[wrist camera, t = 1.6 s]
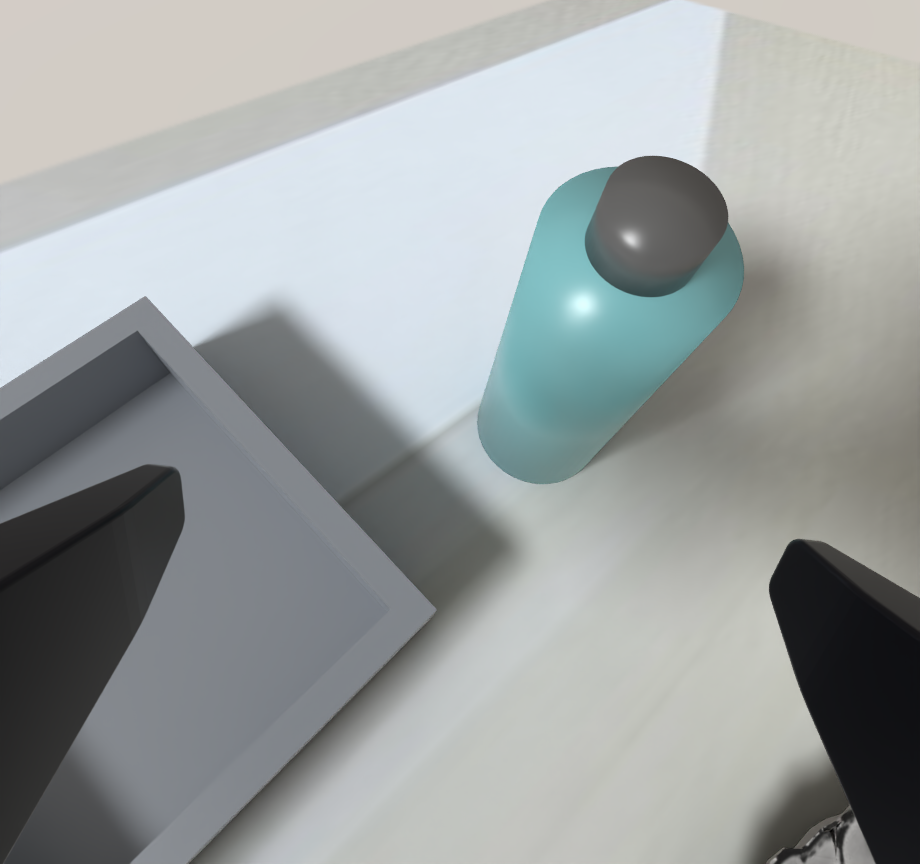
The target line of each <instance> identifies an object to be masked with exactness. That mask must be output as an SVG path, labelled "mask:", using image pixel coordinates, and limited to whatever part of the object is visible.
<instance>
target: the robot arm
mask: <svg viewBox="0 0 920 864" xmlns="http://www.w3.org/2000/svg"><path fill="white" fill-rule="evenodd" d="M184 521H185V510H184V500H183V491H182V482H181V475H180V473H179V470H178V469H176V468H175V467H173V466H165V465H157V464H145V465H142V466H139V467H137V468H135V469H132V470H130V471H127V472H125V473H122V474H120V475H117V476H115V477H113V478H110V479H108V480H105V481H103V482H100V483H98V484H95V485H93V486H91V487H88V488H86V489H83V490H81V491H78V492H76V493H73V494H71V495H68V496H66V497H64V498H61V499H59V500H56V501H54V502H51V503H49V504H46V505H44V506H42V507H39V508H37V509H34V510H32V511H29V512H27V513H24V514H22V515H20V516H17V517H15V518H12V519H10V520H7V521H5V522H2V523H0V864H4V862H5V860H6V858H7V857H8V855H9V853H10V851H11V850H12V848H13V846H14V845H15V843H16V841H17V839H18V838H19V836H20V834H21V832H22V831H23V829H24V827H25V825H26V824H27V822H28V820H29V819H30V817H31V815H32V813H33V812H34V810H35V808H36V806H37V805H38V803H39V801H40V799H41V798H42V796H43V794H44V793H45V791H46V789H47V787H48V786H49V784H50V782H51V780H52V779H53V777H54V775H55V774H56V772H57V770H58V768H59V767H60V765H61V763H62V761H63V760H64V758H65V756H66V754H67V753H68V751H69V749H70V748H71V746H72V744H73V742H74V741H75V739H76V737H77V735H78V734H79V732H80V730H81V728H82V727H83V725H84V723H85V722H86V720H87V718H88V716H89V715H90V713H91V711H92V709H93V708H94V706H95V704H96V702H97V701H98V699H99V697H100V696H101V694H102V692H103V690H104V689H105V687H106V685H107V683H108V682H109V680H110V678H111V676H112V675H113V673H114V671H115V670H116V668H117V666H118V664H119V663H120V661H121V659H122V657H123V656H124V654H125V652H126V650H127V649H128V647H129V645H130V644H131V642H132V640H133V638H134V636H135V635H136V633H137V631H138V629H139V627H140V625H141V624H142V622H143V619H144V617H145V615H146V613H147V611H148V609H149V606H150V604H151V602H152V600H153V597H154V595H155V593H156V590H157V588H158V586H159V583H160V581H161V579H162V576H163V574H164V572H165V569H166V567H167V565H168V563H169V560H170V558H171V556H172V553H173V551H174V549H175V546H176V544H177V542H178V539H179V537H180V535H181V532H182V530H183V526H184ZM769 594H770V599H771V602H772V605H773V608H774V611H775V614H776V617H777V620H778V624H779V627H780V630H781V633H782V636H783V639H784V642H785V645H786V649H787V652H788V655H789V658H790V661H791V664H792V667H793V670H794V674H795V676H796V679H797V682H798V685H799V688H800V691H801V693H802V696H803V698H804V700H805V703H806V705H807V708H808V710H809V712H810V715H811V717H812V719H813V722H814V724H815V726H816V729H817V731H818V733H819V735H820V738H821V740H822V742H823V745H824V747H825V749H826V752H827V754H828V756H829V759H830V761H831V763H832V765H833V768H834V770H835V772H836V775H837V777H838V779H839V782H840V784H841V786H842V788H843V791H844V793H845V795H846V798H847V800H848V802H849V805H850V807H851V809H852V812H853V814H854V816H855V818H856V821H857V823H858V825H859V828H860V830H861V832H862V835H863V837H864V839H865V841H866V844H867V846H868V848H869V851H870V853H871V855H872V858H873V860H874V862H875V864H920V598H919V597H917V596H915V595H913V594H912V593H910V592H908V591H907V590H905V589H903V588H902V587H900V586H898V585H896V584H895V583H893V582H891V581H890V580H888V579H886V578H884V577H883V576H881V575H879V574H878V573H876V572H874V571H872V570H871V569H869V568H867V567H866V566H864V565H862V564H861V563H859V562H857V561H855V560H854V559H852V558H850V557H849V556H847V555H845V554H843V553H842V552H840V551H838V550H837V549H835V548H833V547H832V546H830V545H828V544H826V543H824V542H821V541H814V540H805V539H796V540H793V541H791V542H790V543H789V544H788V546H787V547H786V549H785V551H784V553H783V555H782V557H781V559H780V561H779V563H778V565H777V567H776V569H775V571H774V573H773V575H772V577H771V580H770V584H769Z"/></svg>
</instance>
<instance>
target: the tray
mask: <svg viewBox="0 0 920 864" xmlns="http://www.w3.org/2000/svg"><path fill="white" fill-rule="evenodd" d="M145 464H157V465H165V466H173V467H175V468H176V469H178V470H179V473H180V475H181V482H182V491H183V500H184V510H185V521H184V526H183V530H182V532H181V535H180V537H179V539H178V542H177V544H176V546H175V549H174V551H173V553H172V556H171V558H170V560H169V563H168V565H167V567H166V569H165V572H164V574H163V576H162V579H161V581H160V583H159V586H158V588H157V590H156V593H155V595H154V597H153V600H152V602H151V604H150V606H149V609H148V611H147V613H146V615H145V617H144V619H143V622H142V624H141V625H140V627H139V629H138V631H137V633H136V635H135V636H134V638H133V640H132V642H131V644H130V645H129V647H128V649H127V650H126V652H125V654H124V656H123V657H122V659H121V661H120V663H119V664H118V666H117V668H116V670H115V671H114V673H113V675H112V676H111V678H110V680H109V682H108V683H107V685H106V687H105V689H104V690H103V692H102V694H101V696H100V697H99V699H98V701H97V702H96V704H95V706H94V708H93V709H92V711H91V713H90V715H89V716H88V718H87V720H86V722H85V723H84V725H83V727H82V728H81V730H80V732H79V734H78V735H77V737H76V739H75V741H74V742H73V744H72V746H71V748H70V749H69V751H68V753H67V754H66V756H65V758H64V760H63V761H62V763H61V765H60V767H59V768H58V770H57V772H56V774H55V775H54V777H53V779H52V780H51V782H50V784H49V786H48V787H47V789H46V791H45V793H44V794H43V796H42V798H41V799H40V801H39V803H38V805H37V806H36V808H35V810H34V812H33V813H32V815H31V817H30V819H29V820H28V822H27V824H26V825H25V827H24V829H23V831H22V832H21V834H20V836H19V838H18V839H17V841H16V843H15V845H14V846H13V848H12V850H11V851H10V853H9V855H8V857H7V858H6V860H5V862H4V864H189V863H190V862H191V861H192V860H193V859H194V858H195V857H196V856H197V855H198V854H199V853H200V852H201V851H202V850H203V849H204V848H205V847H206V846H207V845H208V844H209V843H210V842H211V841H212V840H213V839H214V838H215V837H216V836H217V835H218V834H219V833H220V832H221V831H222V830H223V828H224V827H225V826H226V825H227V824H228V823H229V822H230V821H231V820H232V819H233V818H234V817H235V816H236V815H237V814H238V813H239V812H240V811H241V810H242V809H243V808H244V807H245V806H246V805H247V804H248V803H249V802H250V801H251V800H252V799H253V798H254V797H255V796H256V795H257V794H258V793H259V792H260V791H261V790H262V789H263V788H264V787H265V786H266V785H267V784H268V783H269V782H270V781H271V780H272V779H273V778H274V777H275V776H276V775H277V774H278V773H279V772H280V771H281V770H282V769H283V768H284V767H285V766H286V765H287V764H288V763H289V762H290V761H291V760H292V759H293V758H294V757H295V756H296V755H297V754H298V753H299V752H300V751H301V750H302V749H303V748H304V747H305V746H306V745H307V744H308V743H309V741H310V740H311V739H312V738H313V737H314V736H315V735H316V734H317V733H318V732H319V731H320V730H321V729H322V728H323V727H324V726H325V725H326V724H327V723H328V722H329V721H330V720H331V719H332V718H333V717H334V716H335V715H336V714H337V713H338V712H339V711H340V710H341V709H342V708H343V707H344V706H345V705H346V704H347V703H348V702H349V701H350V700H351V699H352V698H353V697H354V696H355V695H356V694H357V693H358V692H359V691H360V690H361V689H362V688H363V687H364V686H365V685H366V684H367V683H368V682H369V681H370V680H371V679H372V678H373V677H374V676H375V675H376V674H377V673H378V672H379V671H380V670H381V669H382V668H383V667H384V666H385V665H386V664H387V663H388V662H389V661H390V660H391V659H392V658H393V657H394V655H395V654H396V653H397V652H398V651H399V650H400V649H401V648H402V647H403V646H404V645H405V644H406V643H407V642H408V641H409V640H410V639H411V638H412V637H413V636H414V635H415V634H416V633H417V632H418V631H419V630H420V629H421V628H422V627H423V626H424V625H425V624H426V623H427V622H428V621H429V620H430V619H431V618H432V616H433V615H434V613H435V612H436V611H437V609H436V608H435V607H434V606H433V605H432V604H431V603H430V602H429V601H428V599H427V598H426V597H425V596H424V595H423V594H422V593H421V592H420V591H419V590H418V589H417V588H416V587H415V585H414V584H413V583H412V582H411V581H410V580H409V579H408V578H407V577H406V576H405V575H404V574H403V573H402V571H401V570H400V569H399V568H398V567H397V566H396V565H395V564H394V563H393V562H392V561H391V560H390V559H389V557H388V556H387V555H386V554H385V553H384V552H383V551H382V550H381V549H380V548H379V547H378V546H377V545H376V543H375V542H374V541H373V540H372V539H371V538H370V537H369V536H368V535H367V534H366V533H365V532H364V531H363V529H362V528H361V527H360V526H359V525H358V524H357V523H356V522H355V521H354V520H353V519H352V518H351V517H350V515H349V514H348V513H347V512H346V511H345V510H344V509H343V508H342V507H341V506H340V505H339V504H338V503H337V502H336V500H335V499H334V498H333V497H332V496H331V495H330V494H329V493H328V492H327V491H326V490H325V489H324V488H323V486H322V485H321V484H320V483H319V482H318V481H317V480H316V479H315V478H314V477H313V476H312V475H311V474H310V472H309V471H308V470H307V469H306V468H305V467H304V466H303V465H302V464H301V463H300V462H299V461H298V460H297V458H296V457H295V456H294V455H293V454H292V453H291V452H290V451H289V450H288V449H287V448H286V447H285V446H284V444H283V443H282V442H281V441H280V440H279V439H278V438H277V437H276V436H275V435H274V434H273V433H272V432H271V430H270V429H269V428H268V427H267V426H266V425H265V424H264V423H263V422H262V421H261V420H260V419H259V418H258V416H257V415H256V414H255V413H254V412H253V411H252V410H251V409H250V408H249V407H248V406H247V405H246V404H245V402H244V401H243V400H242V399H241V398H240V397H239V396H238V395H237V394H236V393H235V392H234V391H233V390H232V389H231V387H230V386H229V385H228V384H227V383H226V382H225V381H224V380H223V379H222V378H221V377H220V376H219V375H218V373H217V372H216V371H215V370H214V369H213V368H212V367H211V366H210V365H209V364H208V363H207V362H206V361H205V359H204V358H203V357H202V356H201V355H200V354H199V353H198V352H197V351H196V350H195V349H194V348H193V347H192V345H191V344H190V343H189V342H188V341H187V340H186V339H185V338H184V337H183V336H182V335H181V334H180V333H179V331H178V330H177V329H176V328H175V327H174V326H173V325H172V324H171V323H170V322H169V321H168V320H167V319H166V317H165V316H164V315H163V314H162V313H161V312H160V311H159V310H158V309H157V308H156V307H155V306H154V305H153V303H152V302H151V301H150V300H149V299H148V298H147V297H146V296H145V297H143V298H142V299H140V300H138V301H137V302H135V303H134V304H132V305H130V306H129V307H127V308H126V309H124V310H123V311H121V312H119V313H118V314H116V315H115V316H113V317H112V318H110V319H108V320H107V321H105V322H104V323H102V324H101V325H99V326H97V327H96V328H94V329H93V330H91V331H89V332H88V333H86V334H85V335H83V336H82V337H80V338H78V339H77V340H75V341H74V342H72V343H71V344H69V345H67V346H66V347H64V348H63V349H61V350H60V351H58V352H56V353H55V354H53V355H52V356H50V357H48V358H47V359H45V360H44V361H42V362H41V363H39V364H37V365H36V366H34V367H33V368H31V369H30V370H28V371H26V372H25V373H23V374H22V375H20V376H18V377H17V378H15V379H14V380H12V381H11V382H9V383H7V384H6V385H4V386H3V387H1V388H0V523H2V522H5V521H7V520H10V519H12V518H15V517H17V516H20V515H22V514H24V513H27V512H29V511H32V510H34V509H37V508H39V507H42V506H44V505H46V504H49V503H51V502H54V501H56V500H59V499H61V498H64V497H66V496H68V495H71V494H73V493H76V492H78V491H81V490H83V489H86V488H88V487H91V486H93V485H95V484H98V483H100V482H103V481H105V480H108V479H110V478H113V477H115V476H117V475H120V474H122V473H125V472H127V471H130V470H132V469H135V468H137V467H139V466H142V465H145Z"/></svg>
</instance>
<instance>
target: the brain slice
mask: <svg viewBox="0 0 920 864" xmlns="http://www.w3.org/2000/svg"><path fill="white" fill-rule="evenodd" d="M766 864H875V862H874V860H873V858H872V855H871V853H870V851H869V848H868V846H867V844H866V841H865V839H864V837H863V835H862V832H861V830H860V828H859V825H858V823H857V821H856V818H855V816H854V814H853V812H852V809H851V807H850V805H849V806H848V807H847V808H846V809H845V811H844V812H843V813H842V814H839V815H836V816H833V817H830V818H827V819H825V820H823V821H821V822H820V823H818V824H817V825H815V826H814V827H812V828H810V829H809V831H808V832H807V833H806V834H805V835H804V837H803V838H802V839H801V840H800V841H799V843H798V844H797V845H796V846H795V847H794V848H785V847H783V848H782V849H781V850H779V851H778V852H777V853H776V854H775V855H773V856H772V857H771V858H770V859H769V860H768V861H767V862H766Z"/></svg>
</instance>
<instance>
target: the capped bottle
mask: <svg viewBox="0 0 920 864" xmlns="http://www.w3.org/2000/svg"><path fill="white" fill-rule="evenodd" d="M743 279H744V264H743V256H742V252H741V249H740V245H739V243H738V240H737V238H736V236H735V233H734V232H733V230H732V228H731V227H730V225H729V223H728V210H727V206H726V202H725V200H724V198H723V196H722V194H721V192H720V191H719V189H718V188H717V186H716V185H715V184H714V183H713V182H712V181H711V180H710V179H709V178H708V177H707V176H706V175H705V174H704V173H702V172H701V171H699V170H698V169H696V168H695V167H693V166H691V165H689V164H687V163H685V162H682V161H679V160H676V159H673V158H668V157H662V156H644V157H638V158H635V159H632V160H629V161H627V162H625V163H623V164H622V165H620V166H619V167H607V168H601V169H595V170H591V171H588V172H585V173H582V174H580V175H578V176H576V177H574V178H572V179H570V180H569V181H567V182H565V183H564V184H562V185H561V186H560V187H559V188H558V189H557V190H556V191H555V192H554V193H553V194H552V195H551V196H550V198H549V199H548V200H547V202H546V203H545V205H544V207H543V209H542V211H541V214H540V216H539V219H538V222H537V225H536V229H535V232H534V235H533V238H532V241H531V244H530V248H529V251H528V254H527V257H526V260H525V264H524V267H523V270H522V273H521V276H520V280H519V283H518V286H517V289H516V292H515V296H514V299H513V302H512V305H511V308H510V312H509V315H508V318H507V321H506V324H505V328H504V331H503V334H502V337H501V340H500V344H499V347H498V350H497V353H496V356H495V360H494V363H493V366H492V369H491V372H490V376H489V379H488V382H487V385H486V388H485V392H484V395H483V398H482V401H481V404H480V408H479V412H478V421H477V424H478V433H479V437H480V440H481V443H482V445H483V447H484V449H485V451H486V453H487V454H488V456H489V457H490V459H491V460H492V461H493V462H494V463H495V464H496V465H497V466H498V467H499V468H500V469H502V470H503V471H504V472H506V473H507V474H509V475H511V476H513V477H515V478H517V479H519V480H522V481H525V482H530V483H536V484H550V483H556V482H560V481H563V480H566V479H568V478H570V477H572V476H574V475H575V474H577V473H578V472H579V471H580V470H582V469H583V468H584V467H585V466H586V465H587V464H588V462H589V461H590V460H591V459H592V458H593V457H594V456H595V455H596V454H597V453H598V452H599V451H600V450H601V449H602V448H603V447H604V445H605V444H606V443H607V442H608V441H609V440H610V439H611V438H612V437H613V436H614V435H615V434H616V433H617V432H618V431H619V430H620V428H621V427H622V426H623V425H624V424H625V423H626V422H627V421H628V420H629V419H630V418H631V417H632V416H633V415H634V414H635V413H636V412H637V410H638V409H639V408H640V407H641V406H642V405H643V404H644V403H645V402H646V401H647V400H648V399H649V398H650V397H651V396H652V395H653V393H654V392H655V391H656V390H657V389H658V388H659V387H660V386H661V385H662V384H663V383H664V382H665V381H666V380H667V379H668V378H669V376H670V375H671V374H672V373H673V372H674V371H675V370H676V369H677V368H678V367H679V366H680V365H681V364H682V363H683V362H684V361H685V359H686V358H687V357H688V356H689V355H690V354H691V353H692V352H693V351H694V350H695V349H696V348H697V347H698V346H699V345H700V344H701V343H702V341H703V340H704V339H705V338H706V337H707V336H708V335H709V334H710V333H711V332H712V331H713V330H714V329H715V328H716V327H717V326H718V324H719V323H720V322H721V321H722V320H723V319H724V318H725V317H726V316H727V315H728V313H729V312H730V311H731V310H732V308H733V307H734V305H735V303H736V302H737V300H738V297H739V295H740V292H741V289H742V284H743Z"/></svg>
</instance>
